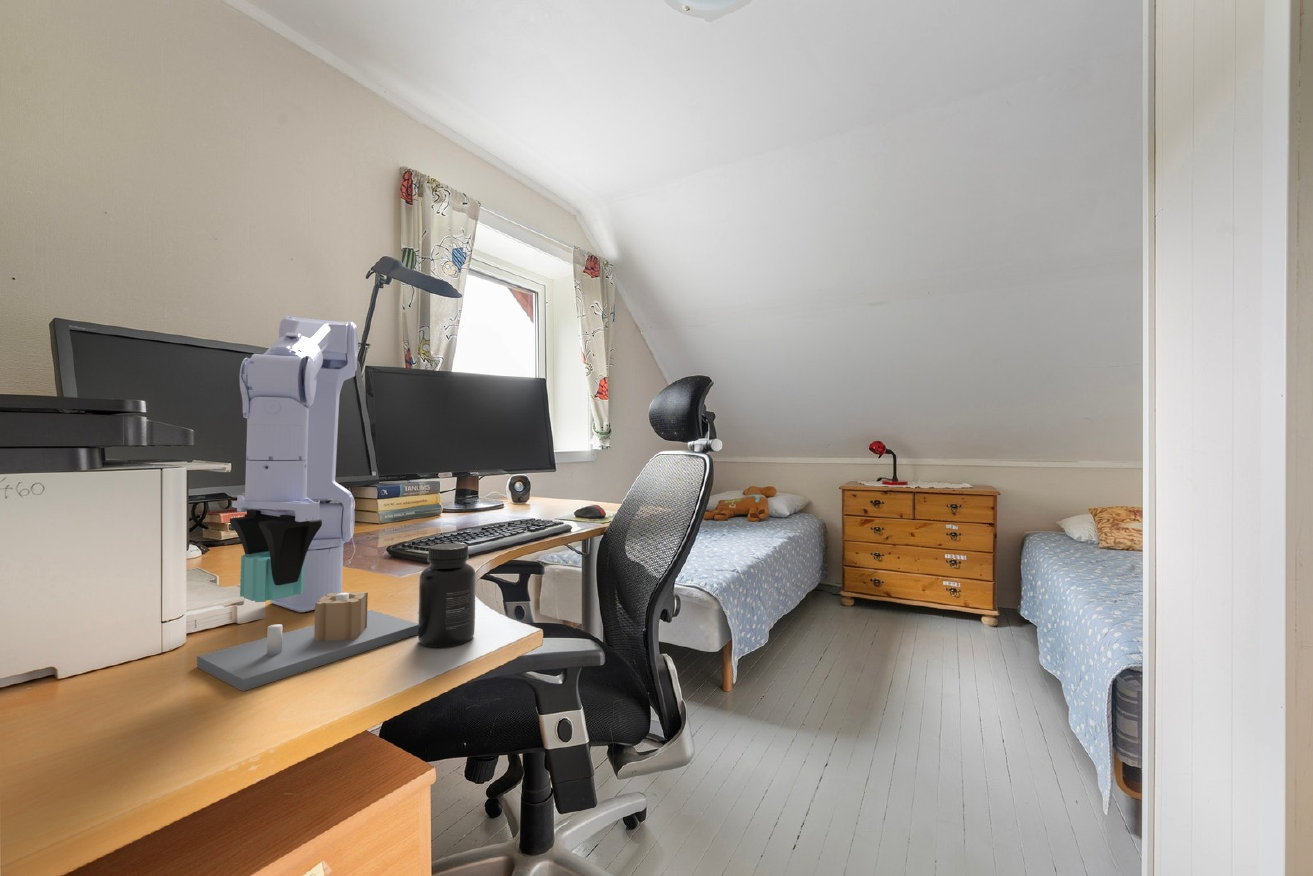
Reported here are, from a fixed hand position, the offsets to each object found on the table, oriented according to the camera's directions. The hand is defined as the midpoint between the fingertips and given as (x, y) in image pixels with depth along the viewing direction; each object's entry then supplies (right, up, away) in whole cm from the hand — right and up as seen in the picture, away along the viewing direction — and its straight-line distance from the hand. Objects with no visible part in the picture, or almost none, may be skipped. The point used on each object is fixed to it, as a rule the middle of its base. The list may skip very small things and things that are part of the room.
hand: (274, 579), depth 61 cm
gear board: (+2, -10, +4) cm, 11 cm away
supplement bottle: (+16, -10, +8) cm, 21 cm away
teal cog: (0, -2, 0) cm, 2 cm away
